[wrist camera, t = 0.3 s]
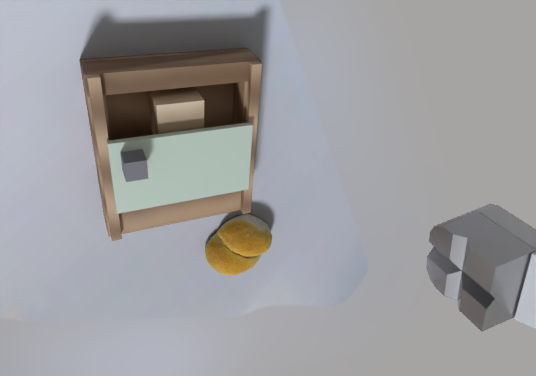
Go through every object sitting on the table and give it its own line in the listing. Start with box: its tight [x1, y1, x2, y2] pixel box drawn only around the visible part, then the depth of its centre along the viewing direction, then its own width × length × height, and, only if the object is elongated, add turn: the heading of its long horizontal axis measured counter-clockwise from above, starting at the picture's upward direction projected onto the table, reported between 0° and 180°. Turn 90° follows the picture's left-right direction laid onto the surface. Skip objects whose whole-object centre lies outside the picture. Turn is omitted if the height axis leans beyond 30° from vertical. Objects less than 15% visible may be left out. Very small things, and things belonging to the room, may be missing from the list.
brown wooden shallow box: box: [80, 48, 262, 241], centre depth 48 cm, size 18×16×4 cm
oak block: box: [149, 87, 204, 135], centre depth 46 cm, size 4×4×4 cm
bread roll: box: [205, 214, 272, 275], centre depth 62 cm, size 8×9×4 cm
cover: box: [107, 122, 253, 214], centre depth 46 cm, size 8×14×3 cm, turn 85°
